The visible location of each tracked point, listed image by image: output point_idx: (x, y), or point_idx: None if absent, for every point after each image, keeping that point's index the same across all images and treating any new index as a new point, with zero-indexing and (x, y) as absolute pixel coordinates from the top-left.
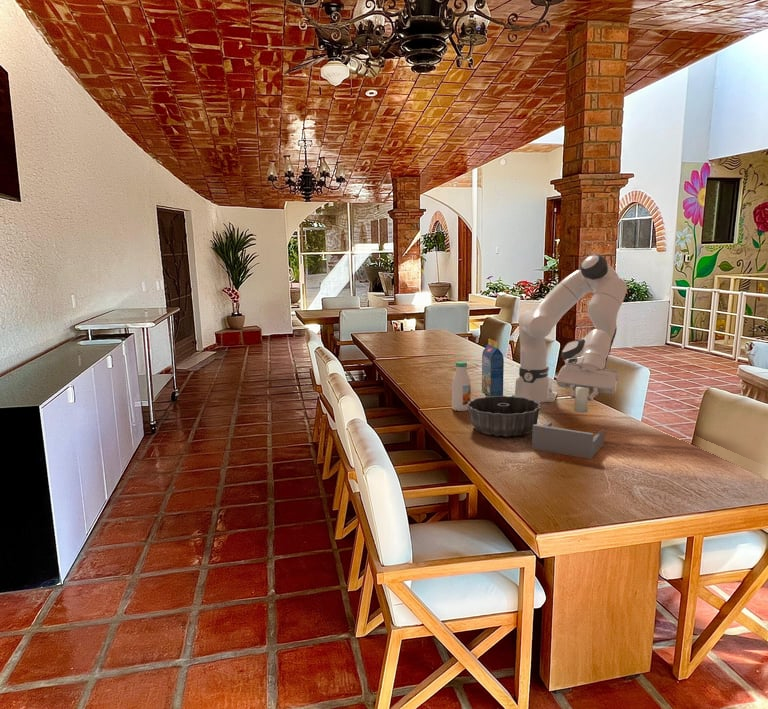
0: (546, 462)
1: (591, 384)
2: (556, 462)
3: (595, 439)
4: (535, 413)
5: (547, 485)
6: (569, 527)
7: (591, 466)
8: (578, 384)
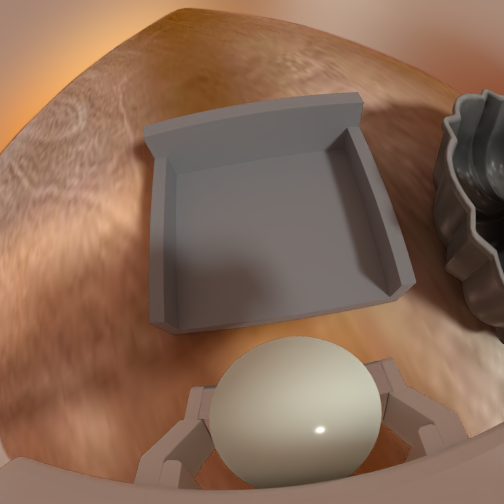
0: None
1: (196, 501)
2: None
3: (153, 187)
4: (465, 223)
5: (212, 49)
6: (156, 22)
7: None
8: (381, 469)
